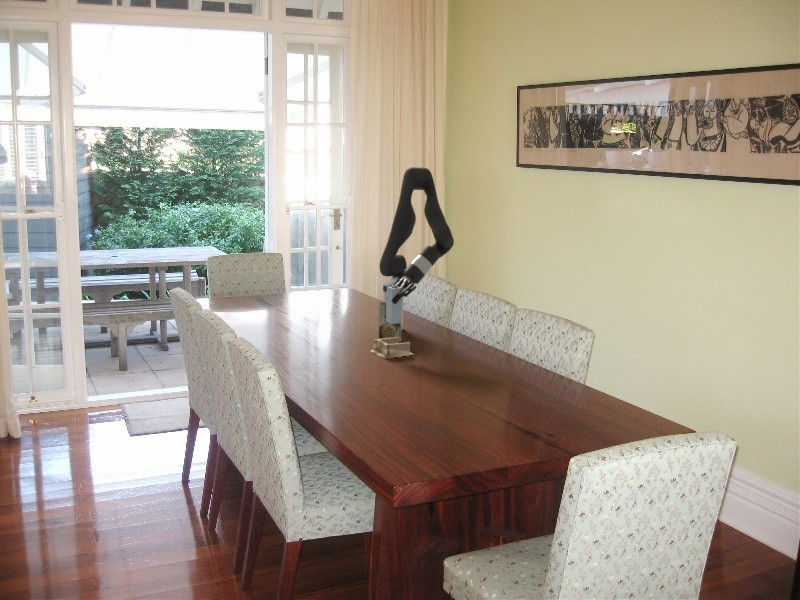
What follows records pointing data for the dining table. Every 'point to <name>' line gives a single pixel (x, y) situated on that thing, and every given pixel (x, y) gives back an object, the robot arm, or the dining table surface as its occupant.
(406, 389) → the dining table surface
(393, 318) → the post
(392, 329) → the coffee box
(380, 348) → the keeper pocket
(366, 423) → the dining table surface
